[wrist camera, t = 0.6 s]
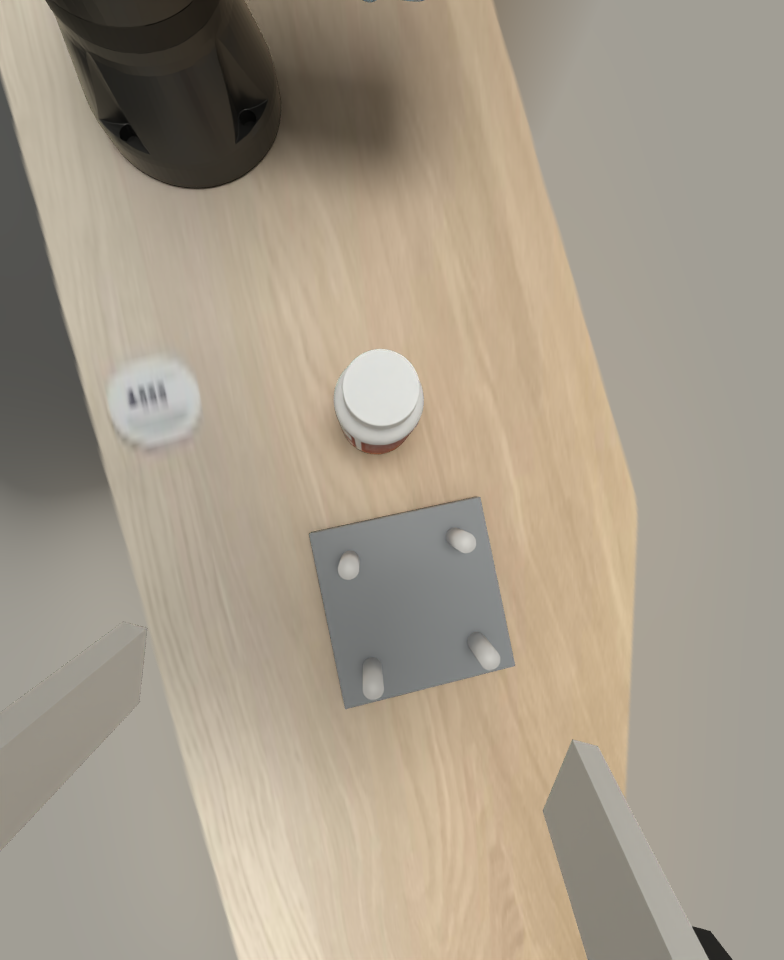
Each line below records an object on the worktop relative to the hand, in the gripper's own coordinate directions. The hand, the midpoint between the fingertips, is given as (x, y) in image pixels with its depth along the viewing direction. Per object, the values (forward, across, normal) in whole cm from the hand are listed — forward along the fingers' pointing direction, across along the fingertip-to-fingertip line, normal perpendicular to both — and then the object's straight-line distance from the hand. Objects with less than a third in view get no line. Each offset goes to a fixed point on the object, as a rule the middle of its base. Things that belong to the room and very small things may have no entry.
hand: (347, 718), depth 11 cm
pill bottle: (+24, -4, +7) cm, 25 cm away
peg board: (+21, +3, -7) cm, 22 cm away
